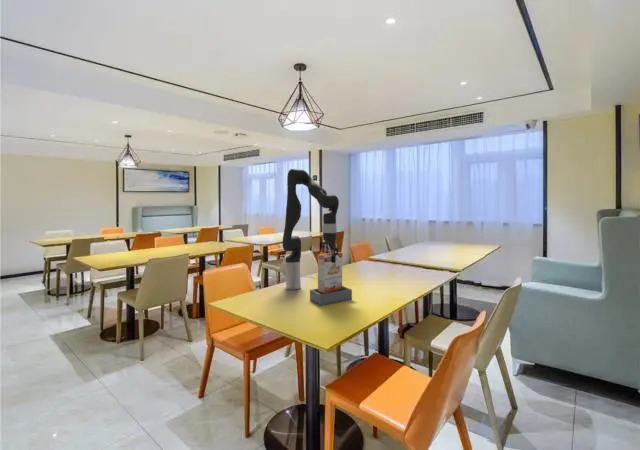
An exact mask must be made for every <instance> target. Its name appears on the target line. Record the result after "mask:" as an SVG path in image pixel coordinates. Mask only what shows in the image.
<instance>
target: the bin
mask: <svg viewBox="0 0 640 450" xmlns="http://www.w3.org/2000/svg"><path fill="white" fill-rule="evenodd" d="M352 300H353V290H352V289H351V288H350V287H346V286H345V285H342V289H340V290H336V291H332V292H328V293H322V292H318V288H312V289H309V301H310V302H312V303H314V304H315V305H318V306H320V307H324V306H327V305H333V304H338V303H344V302H348V301H349V302H350V301H352Z"/></svg>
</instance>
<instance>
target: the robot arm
mask: <svg viewBox="0 0 640 450" xmlns="http://www.w3.org/2000/svg"><path fill="white" fill-rule="evenodd" d="M287 172H288V173H287V179H286V180H287V182H286V183H287V184H286V185H287V189H286V190H287V192H286V193H287V194H286V195H287V196H286V207H285V208H286V209H285V223H284V228H283V229H284V231H283V236H282V248H283V251H285V252H291V253H290V254H289V255H287V256H285V286H286V287H285V288H286V289H287V290H291V291H292V290H299V289H301V288H302V287H301V283H302V282H301V280H302V279H301V257H302V241H301V238H300V237H299V236H298V235H293V231H294V229H295V226H297V224H298V222H299V221H300V219H301V215H302V204H301V201H300V199H299V196H298V195H297V185H303V186H305V187H307V190H308V193H309V194H310V195H311V196H312V197H313V198H314V199H315V200H316V201H317V203H318V205H319V207H322V208H323V209H328V210H327V212H324V213H323V214H322V216H323V217H322V219H323V223H322V240H323V241H322V242H321V247H322V253H323V254H324V253H331V255H332V256H331V260H332V263H335V262H336V255H338V252H339V244H338V243H336V241H337V238H338V237H337V233H338V232H337V230H338V228H337V214H338V209H339V205H340V201H339V198H338V196H337V195H336V194H335V195H334V194H330V195H328V193H327V191H326V190H325V189H324V188H323V187H321V186H320V185H319V184H318V183H317V182H315V180H314V179H313V178H312V177H311V176H310V174H308V172H307V171H306V170H304V169H302V168H290V170H288V171H287Z"/></svg>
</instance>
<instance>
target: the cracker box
mask: <svg viewBox="0 0 640 450" xmlns="http://www.w3.org/2000/svg"><path fill="white" fill-rule="evenodd" d="M331 256H332V255H331V252H329V253H324V252H323V253H318V254H317V289H318V292H322V293H328V292H332V291H336V290H340V289H342V286H343V252H340V251H338V255H336V262H335V263H332V260H331Z"/></svg>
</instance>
